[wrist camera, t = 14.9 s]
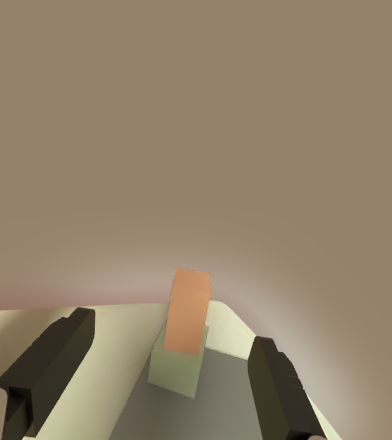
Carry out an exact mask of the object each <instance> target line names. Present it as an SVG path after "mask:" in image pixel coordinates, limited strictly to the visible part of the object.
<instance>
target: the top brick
mask: <svg viewBox="0 0 392 440" xmlns="http://www.w3.org/2000/svg"><path fill="white" fill-rule="evenodd" d="M210 295H211V288H210V275H209V273H207V272H200V271H194V270H188V269H181V268H176V272H175V276H174V280H173V284H172V289H171V297H170V304H169V311H168V319H167V326H166V333H165V340H164V348H163V350H170V351H177V352H184V353H190V354H197V355H199V351H200V346H201V341H202V335H203V330H204V325H205V320H206V315H207V310H208V305H209V300H210Z"/></svg>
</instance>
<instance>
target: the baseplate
mask: <svg viewBox="0 0 392 440" xmlns="http://www.w3.org/2000/svg"><path fill="white" fill-rule="evenodd" d="M150 360H151V354H150V356H149V358H148V360H147V362H146V364H145V366H144V368H143V370H142V372H141V375H140V377H139V379H138V381H137V383H136V385H135V387H134V389H133V391H132V393H131V395H130V397H129V399H128V401H127V403H126V405H125V407H124V409H123V411H122V413H121V415H120V417H119V419H118V422H117V424H116V426H115V428H114V430H113V432H112V434H111V436H110V438H109V440H263V438H262V434H261V430H260V425H259V421H258V416H257V412H256V407H255V403H254V398H253V394H252V389H251V385H250V380H249V376H248V361H245V360H242V359H239V358H236V357H232V356H229V355H226V354H223V353H219V352H216V351H213V350H210V349H206V348H204V353H203V358H202V363H201V368H200V373H199V378H198V383H197V388H196V393H195V398H191V397H188V396H185V395H182V394H180V393H177V392H174V391H171V390H168V389H165V388H163V387H160V386H157V385H154V384H151V383H148V377H149V368H150Z"/></svg>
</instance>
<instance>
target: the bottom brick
mask: <svg viewBox="0 0 392 440" xmlns="http://www.w3.org/2000/svg"><path fill="white" fill-rule="evenodd" d="M167 319H168V318H167ZM166 326H167V320H166V322H165V324H164V326H163V328H162V330H161V332H160V334H159V336H158V338H157V340H156V342H155V344H154V346H153V348H152V351H151V360H150V368H149V377H148V383H151V384H154V385H157V386H160V387H163V388H165V389H168V390H171V391H174V392H177V393H180V394H182V395H185V396H188V397H191V398H195V393H196V388H197V383H198V378H199V373H200V368H201V363H202V358H203V353H204V348H205V343H206V338H207V332H208V326H205V325H204V330H203V335H202V341H201V346H200V351H199V355H197V354H190V353H184V352H177V351H170V350H163V348H164V340H165V333H166Z"/></svg>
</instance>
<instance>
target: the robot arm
mask: <svg viewBox="0 0 392 440" xmlns="http://www.w3.org/2000/svg"><path fill="white" fill-rule="evenodd" d="M94 334H95V310H94V309H88V308H81V307H78V308H76V309H75V310H74V312H73V313H72V314H71V315H70V316H69V317H68V318H65V317H62V318H60V319H59V320H57V321H56V322H54V323H52V324H51V325H49V327H48V328H47V329H46V330H45V331H44V332H43V333H42V334H41V335H40V337H38V338H37V339H36V340H35V341H34V342H33V343H32V345H31V346H30V347H29V348H28V349H27V350H26V351H25V352H24V353H23V354H22V355H21V356H20V357H19V358H18V359H17V360H16V361H15V362H14V363H13V364H12V365H11V366H10V368H9V369H8V370H7V371H6V372H5V373H4V374H3V375H2V376H1V377H0V440H22V439H23V437H24V436H26V437H33V438H35V437H36V436H37V434H38V432H39V431H40V429H41V427H42V426H43V424H44V422H45V421H46V419H47V418H48V416H49V414H50V413H51V411H52V409H53V408H54V406H55V405H56V403H57V401H58V400H59V398H60V396H61V395H62V393H63V391H64V390H65V388H66V387H67V385H68V383H69V382H70V380H71V378H72V377H73V375H74V373H75V372H76V370H77V369H78V367H79V365H80V364H81V362H82V360H83V359H84V357H85V355H86V354H87V352H88V351H89V349H90V347H91V345H92V342H93V339H94ZM248 376H249V380H250V385H251V389H252V394H253V398H254V403H255V407H256V412H257V416H258V421H259V425H260V430H261V434H262V438H263V440H327V438H326V436H325V434H324V432H323V430H322V428H321V425H320V423H319V421H318V419H317V417H316V414H315V412H314V410H313V408H312V406H311V403H310V401H309V399H308V397H307V395H306V393H305V390H303V386H302V384H301V382H300V380H299V379H298V375H297V373H296V371H295V368H294V366H293V364H292V363H291V361H290V360H289V359H288V358H287V357H286V355H285V354H284V353H283V352H278V350H277V348H276V345H275V343H274V341H273V339H271V338H266V337H260V336H256V337H255V339H254V342H253V345H252V348H251V351H250V355H249V358H248Z"/></svg>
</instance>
